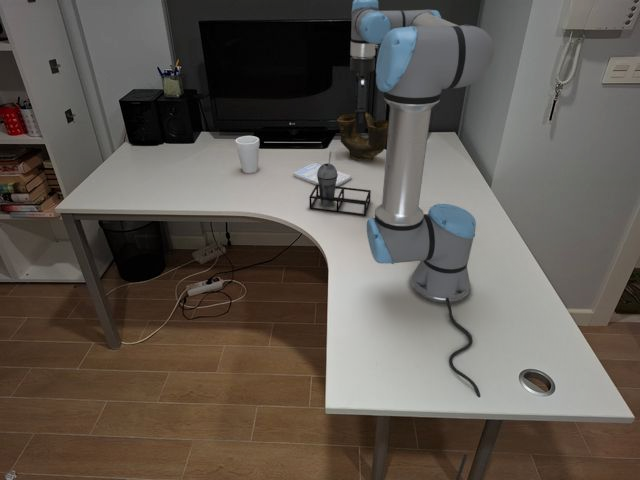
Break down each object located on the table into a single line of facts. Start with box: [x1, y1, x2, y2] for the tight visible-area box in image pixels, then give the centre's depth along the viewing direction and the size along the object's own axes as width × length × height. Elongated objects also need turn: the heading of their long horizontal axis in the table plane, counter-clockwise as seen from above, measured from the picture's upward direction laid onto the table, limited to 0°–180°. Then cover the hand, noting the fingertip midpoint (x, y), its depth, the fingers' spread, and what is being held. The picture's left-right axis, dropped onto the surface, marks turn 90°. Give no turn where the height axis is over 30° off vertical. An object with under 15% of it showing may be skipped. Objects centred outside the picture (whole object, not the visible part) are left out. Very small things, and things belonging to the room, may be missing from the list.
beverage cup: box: [317, 150, 338, 208], centre depth 154 cm, size 7×7×20 cm
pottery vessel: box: [336, 112, 389, 162], centre depth 190 cm, size 25×11×20 cm, turn 54°
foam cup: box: [234, 135, 260, 174], centre depth 181 cm, size 10×9×13 cm
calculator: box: [293, 162, 352, 187], centre depth 178 cm, size 13×20×2 cm, turn 49°
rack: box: [308, 184, 372, 217], centre depth 157 cm, size 10×20×5 cm, turn 76°
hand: (359, 125), depth 146 cm, fingers open, 13 cm apart
